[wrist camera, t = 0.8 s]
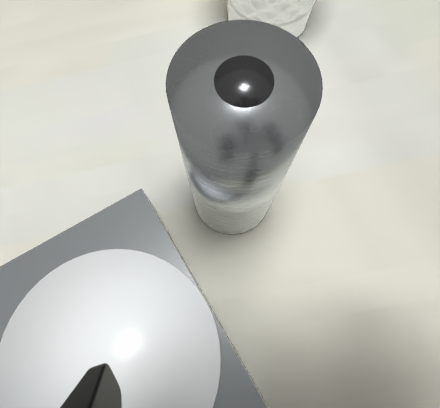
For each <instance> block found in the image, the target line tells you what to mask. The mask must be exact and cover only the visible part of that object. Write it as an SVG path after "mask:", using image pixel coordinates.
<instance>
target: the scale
mask: <svg viewBox="0 0 440 408" xmlns="http://www.w3.org/2000/svg"><path fill="white" fill-rule="evenodd" d="M103 363H107V364H108V365H109V366H110V368H111V370H112V372H113V374H114V376H115V378H116V380H117V382H118V384H119V386H120V390H121V399H122V408H268V406H267V404H266V402H265V401H264V399H263V397H262V396H261V394H260V392H259V390H258V389H257V387H256V385H255V383H254V382H253V380H252V378H251V376H250V375H249V373H248V371H247V369H246V368H245V366H244V364H243V362H242V361H241V359H240V357H239V356H238V354H237V352H236V350H235V349H234V347H233V345H232V343H231V342H230V340H229V338H228V336H227V335H226V333H225V331H224V329H223V328H222V326H221V324H220V322H219V321H218V319H217V317H216V316H215V314H214V312H213V310H212V309H211V307H210V305H209V303H208V302H207V300H206V298H205V296H204V295H203V293H202V291H201V289H200V288H199V286H198V284H197V282H196V281H195V279H194V277H193V275H192V274H191V272H190V270H189V269H188V267H187V265H186V263H185V262H184V260H183V258H182V256H181V255H180V253H179V251H178V249H177V248H176V246H175V244H174V242H173V241H172V239H171V237H170V235H169V234H168V232H167V230H166V229H165V227H164V225H163V223H162V222H161V220H160V218H159V216H158V215H157V213H156V211H155V209H154V208H153V206H152V204H151V202H150V201H149V199H148V197H147V196H146V194H145V193H144V192H143V190H142V189H140V190H138V191H136V192H134V193H132V194H131V195H129V196H127V197H125V198H123V199H122V200H120V201H118V202H116V203H114V204H113V205H111V206H109V207H107V208H105V209H103V210H102V211H100V212H98V213H96V214H94V215H93V216H91V217H89V218H87V219H85V220H84V221H82V222H80V223H78V224H76V225H75V226H73V227H71V228H69V229H67V230H66V231H64V232H62V233H60V234H58V235H57V236H55V237H53V238H51V239H49V240H48V241H46V242H44V243H42V244H40V245H38V246H37V247H35V248H33V249H31V250H29V251H28V252H26V253H24V254H22V255H20V256H19V257H17V258H15V259H13V260H11V261H10V262H8V263H6V264H4V265H2V266H1V267H0V408H60V407H61V406H62V404H63V403H64V402H65V400H66V399H67V398H68V396H69V395H70V393H71V392H72V391H73V389H74V388H75V387H76V385H77V384H78V383H79V381H80V380H81V379H82V377H83V376H84V375H85V373H86V372H87V371H88V369H90V368H91V367H94V366H97V365H100V364H103Z"/></svg>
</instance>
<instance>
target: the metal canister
mask: <svg viewBox="0 0 440 408" xmlns="http://www.w3.org/2000/svg"><path fill="white" fill-rule="evenodd" d="M322 90H323V87H322V77H321V72H320V69H319V67H318V64H317V62H316V60H315V58H314V56H313V55H312V53H311V52H310V51H309V49H308V48H307V47H306V46H305V45H304V44H303V43H302V42H301V41H300V40H299V39H298V38H296V37H295V36H294V35H292V34H291V33H289V32H288V31H286V30H284V29H282V28H280V27H278V26H275V25H272V24H269V23H266V22H261V21H255V20H230V21H224V22H220V23H216V24H213V25H211V26H208V27H206V28H204V29H202V30H200V31H198V32H197V33H195V34H194V35H192V36H191V37H190V38H188V39H187V40H186V41H185V42H184V43H183V44H182V45H181V46H180V48H179V49H178V50H177V52H176V53H175V55H174V56H173V58H172V60H171V63H170V65H169V68H168V72H167V77H166V93H167V98H168V103H169V106H170V110H171V114H172V118H173V122H174V126H175V129H176V133H177V137H178V141H179V145H180V149H181V153H182V156H183V160H184V164H185V168H186V172H187V176H188V180H189V183H190V187H191V191H192V195H193V199H194V203H195V206H196V210H197V212H198V214H199V216H200V218H201V219H202V220H203V221H204V223H205V224H206V225H208V226H209V227H210V228H212V229H213V230H216V231H218V232H221V233H225V234H240V233H244V232H247V231H249V230H251V229H253V228H254V227H255V226H257V225H258V224H259V223H260V222H261V221H262V219H263V218H264V216H265V215H266V213H267V211H268V209H269V207H270V205H271V203H272V201H273V199H274V197H275V195H276V193H277V191H278V189H279V187H280V185H281V183H282V181H283V179H284V177H285V175H286V173H287V171H288V169H289V167H290V165H291V163H292V161H293V159H294V157H295V155H296V153H297V151H298V149H299V147H300V145H301V143H302V141H303V139H304V137H305V135H306V133H307V131H308V129H309V127H310V125H311V123H312V121H313V119H314V117H315V115H316V113H317V111H318V108H319V106H320V102H321V98H322Z"/></svg>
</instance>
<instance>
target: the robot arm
mask: <svg viewBox="0 0 440 408" xmlns="http://www.w3.org/2000/svg"><path fill="white" fill-rule="evenodd" d="M60 408H122V399H121V390H120V386H119V384H118V382H117V380H116V378H115V376H114V374H113V372H112V370H111V368H110V366H109V365H108V364H107V363H103V364H100V365H97V366H94V367H91V368H90V369H88V371H87V372H86V373H85V375H84V376H83V377H82V379H81V380H80V381H79V383H78V384H77V385H76V387H75V388H74V389H73V391H72V392H71V393H70V395H69V396H68V398H67V399H66V400H65V402H64V403H63V404H62V406H61V407H60Z"/></svg>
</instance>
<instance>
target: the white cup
mask: <svg viewBox="0 0 440 408" xmlns="http://www.w3.org/2000/svg"><path fill="white" fill-rule="evenodd" d="M315 1H316V0H227V12H228V21H230V20H255V21H261V22H266V23H269V24H272V25H275V26H278V27H280V28H282V29H284V30H286V31H288V32H289V33H291V34H292V35H294V36H295V37H296V38H297V37H298V36H299V35H301V34H302V33H303V31H304V29H305V26H306V24H307V21H308V19H309V16H310V13H311V10H312V8H313V6H314V3H315Z"/></svg>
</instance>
